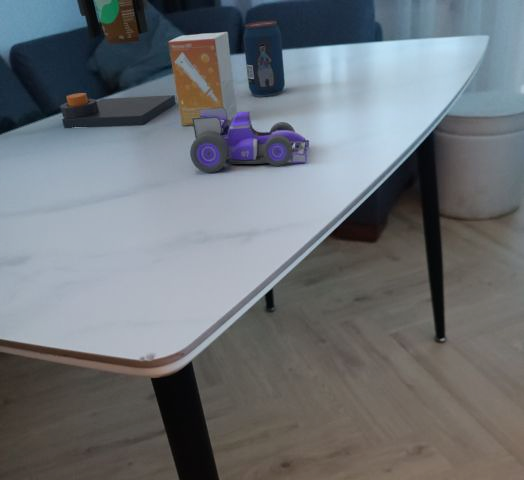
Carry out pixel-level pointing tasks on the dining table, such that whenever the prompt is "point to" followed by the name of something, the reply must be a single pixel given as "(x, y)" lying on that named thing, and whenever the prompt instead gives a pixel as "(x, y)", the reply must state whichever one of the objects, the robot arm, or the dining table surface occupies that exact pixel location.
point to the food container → (117, 20)
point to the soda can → (264, 58)
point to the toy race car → (241, 142)
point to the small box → (202, 74)
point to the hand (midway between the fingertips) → (119, 34)
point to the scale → (116, 111)
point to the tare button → (77, 99)
